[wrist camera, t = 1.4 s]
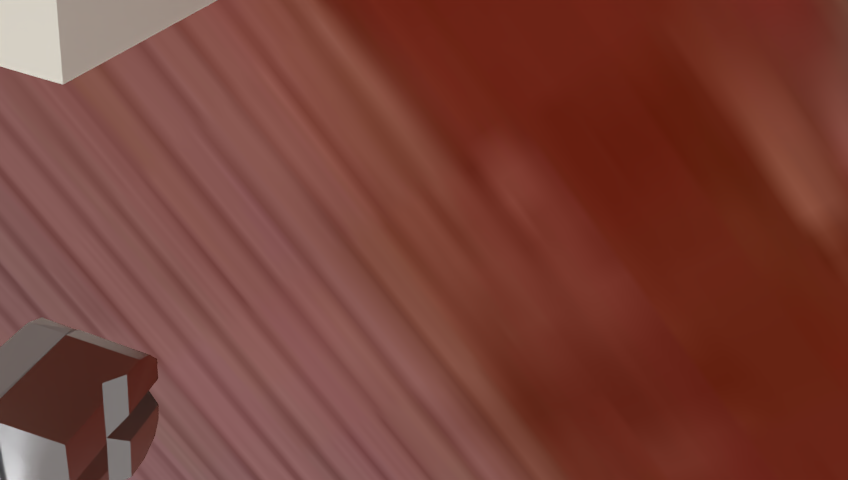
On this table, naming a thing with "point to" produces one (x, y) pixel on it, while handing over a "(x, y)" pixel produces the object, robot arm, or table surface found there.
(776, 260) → the table surface
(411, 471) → the table surface
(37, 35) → the card box
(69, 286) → the table surface
